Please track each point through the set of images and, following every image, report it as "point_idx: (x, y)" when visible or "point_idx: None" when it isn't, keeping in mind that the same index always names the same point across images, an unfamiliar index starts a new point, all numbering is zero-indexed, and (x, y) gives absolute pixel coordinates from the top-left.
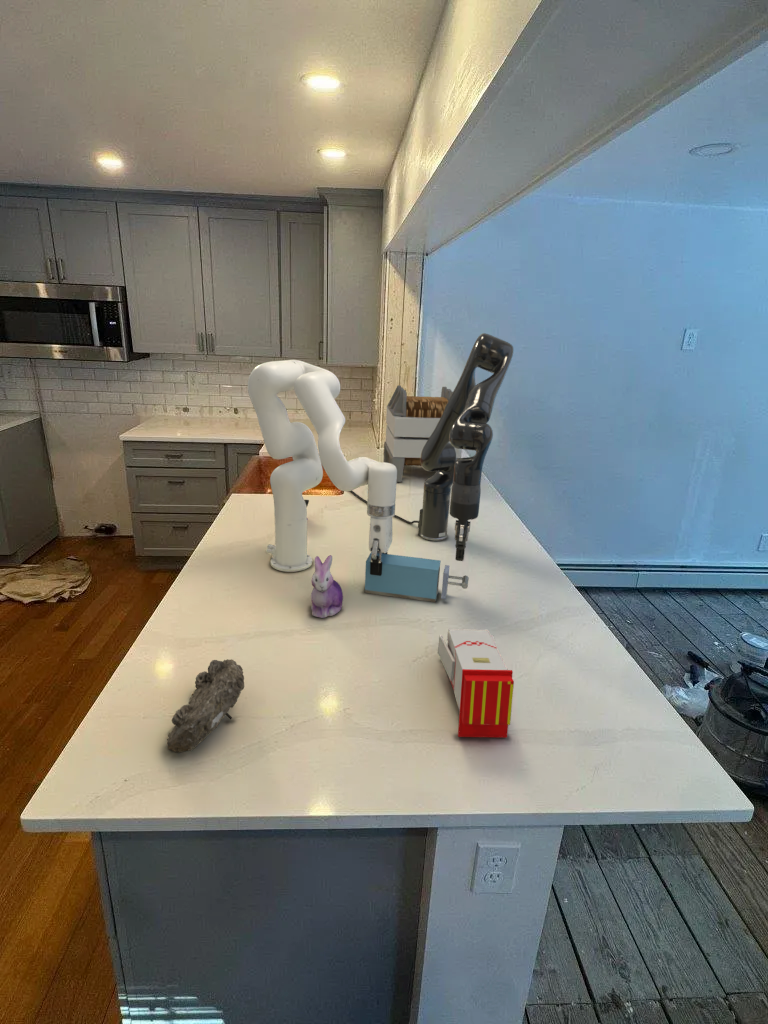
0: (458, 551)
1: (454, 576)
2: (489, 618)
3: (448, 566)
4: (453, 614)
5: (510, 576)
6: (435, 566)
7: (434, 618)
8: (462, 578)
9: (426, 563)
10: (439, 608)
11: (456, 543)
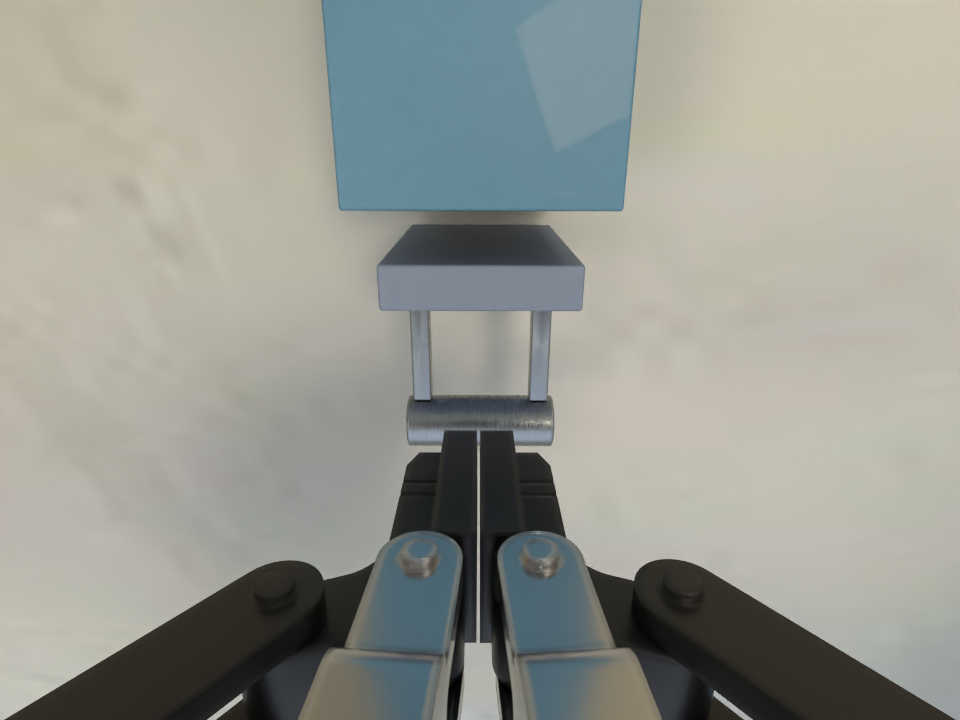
0: (395, 536)
1: (543, 337)
2: (311, 504)
3: (551, 302)
4: (278, 316)
5: (850, 600)
6: (428, 165)
7: (177, 201)
8: (525, 401)
9: (486, 30)
10: (320, 220)
11: (60, 699)
